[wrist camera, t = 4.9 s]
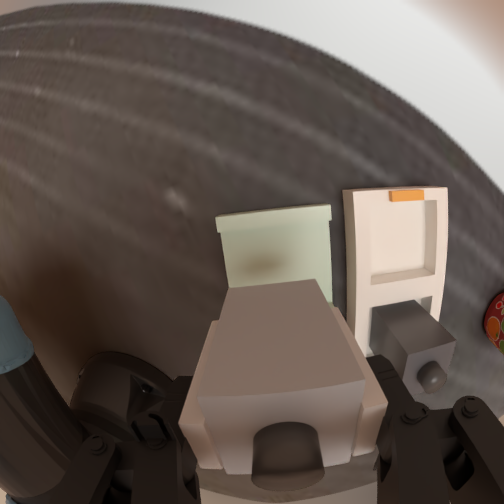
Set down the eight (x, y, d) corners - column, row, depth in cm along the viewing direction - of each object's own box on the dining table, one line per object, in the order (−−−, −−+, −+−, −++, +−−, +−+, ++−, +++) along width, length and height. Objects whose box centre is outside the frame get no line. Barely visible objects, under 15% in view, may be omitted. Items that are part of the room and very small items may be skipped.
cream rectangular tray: (344, 359, 26) (371, 434, 16) (342, 190, 22) (397, 199, 12) (418, 344, 25) (463, 403, 15) (429, 185, 21) (507, 196, 11)
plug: (240, 358, 15) (223, 505, 6) (228, 288, 14) (185, 437, 5) (317, 350, 15) (356, 492, 6) (315, 278, 14) (383, 418, 5)
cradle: (235, 321, 25) (233, 330, 24) (218, 215, 23) (215, 217, 21) (331, 311, 25) (335, 320, 23) (326, 203, 22) (330, 204, 21)
